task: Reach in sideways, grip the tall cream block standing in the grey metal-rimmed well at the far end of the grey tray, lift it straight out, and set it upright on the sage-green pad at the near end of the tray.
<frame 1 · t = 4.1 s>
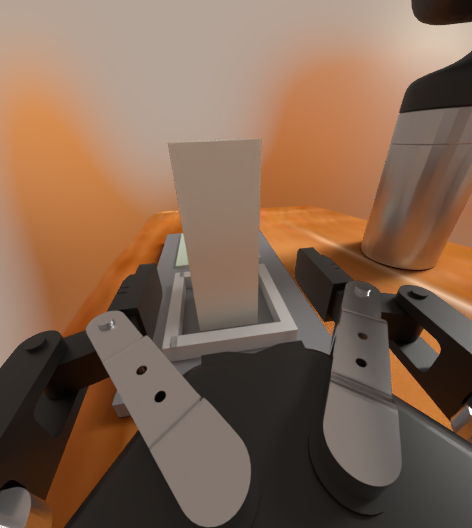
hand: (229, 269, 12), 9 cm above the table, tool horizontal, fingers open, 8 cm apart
grey tray: (221, 282, 27), on the table
cream block: (226, 307, 21), point 1 cm above the table, touching grey tray
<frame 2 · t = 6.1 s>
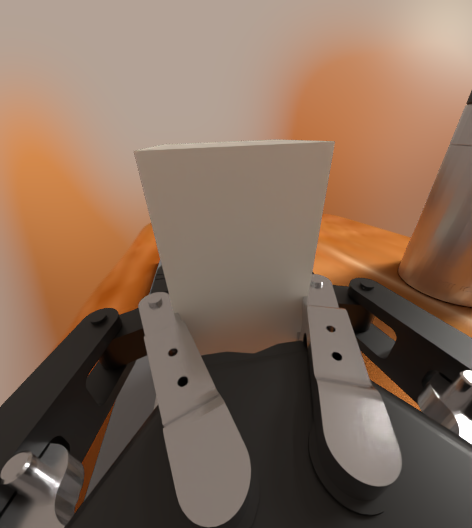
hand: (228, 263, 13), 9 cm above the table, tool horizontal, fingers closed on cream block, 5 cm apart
grey tray: (229, 324, 21), on the table
cream block: (239, 379, 15), point 2 cm above the table, touching gripper, grey tray
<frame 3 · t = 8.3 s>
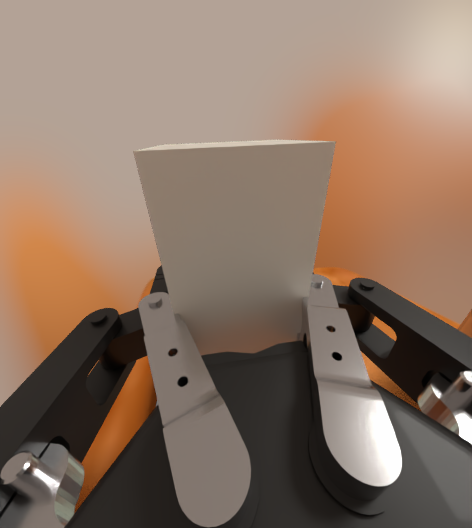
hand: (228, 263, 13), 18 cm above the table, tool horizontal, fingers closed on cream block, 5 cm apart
cream block: (239, 380, 15), point 10 cm above the table, touching gripper
when the fingers open (11 cm above the table, at t = 10.9 s): cream block drops 1 cm, resting on grey tray.
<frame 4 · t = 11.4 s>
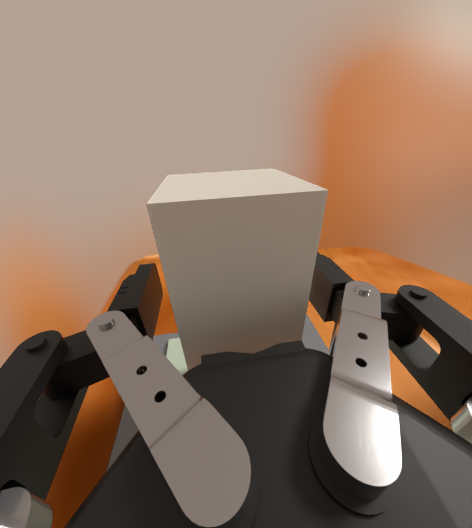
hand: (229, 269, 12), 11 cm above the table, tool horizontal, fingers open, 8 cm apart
cream block: (239, 391, 15), point 2 cm above the table, touching grey tray
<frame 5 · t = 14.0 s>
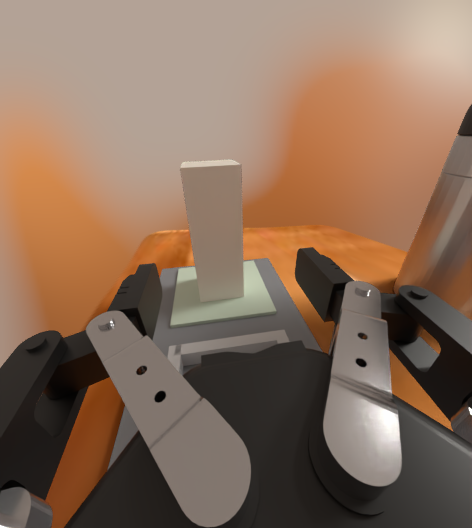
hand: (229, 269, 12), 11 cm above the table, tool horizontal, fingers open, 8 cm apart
grey tray: (228, 346, 21), on the table
cream block: (220, 286, 27), point 2 cm above the table, touching grey tray
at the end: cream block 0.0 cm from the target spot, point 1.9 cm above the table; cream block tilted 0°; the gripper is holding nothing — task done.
